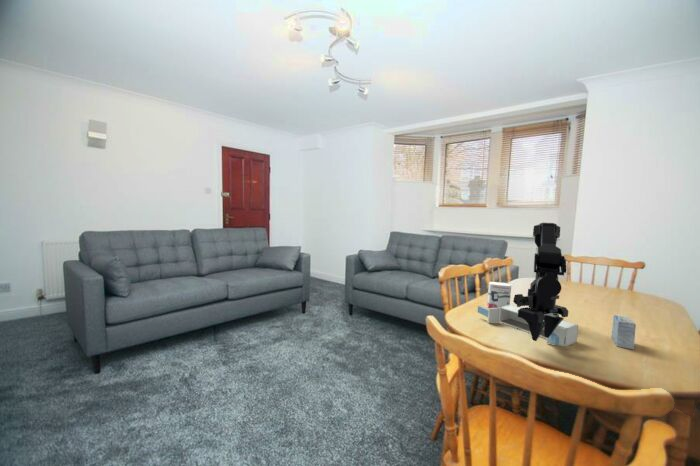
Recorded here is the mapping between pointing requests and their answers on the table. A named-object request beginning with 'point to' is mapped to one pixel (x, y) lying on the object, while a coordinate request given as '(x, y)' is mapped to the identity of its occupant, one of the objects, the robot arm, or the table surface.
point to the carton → (510, 318)
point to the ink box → (498, 294)
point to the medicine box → (623, 332)
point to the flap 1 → (490, 314)
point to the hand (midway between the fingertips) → (540, 338)
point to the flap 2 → (557, 337)
